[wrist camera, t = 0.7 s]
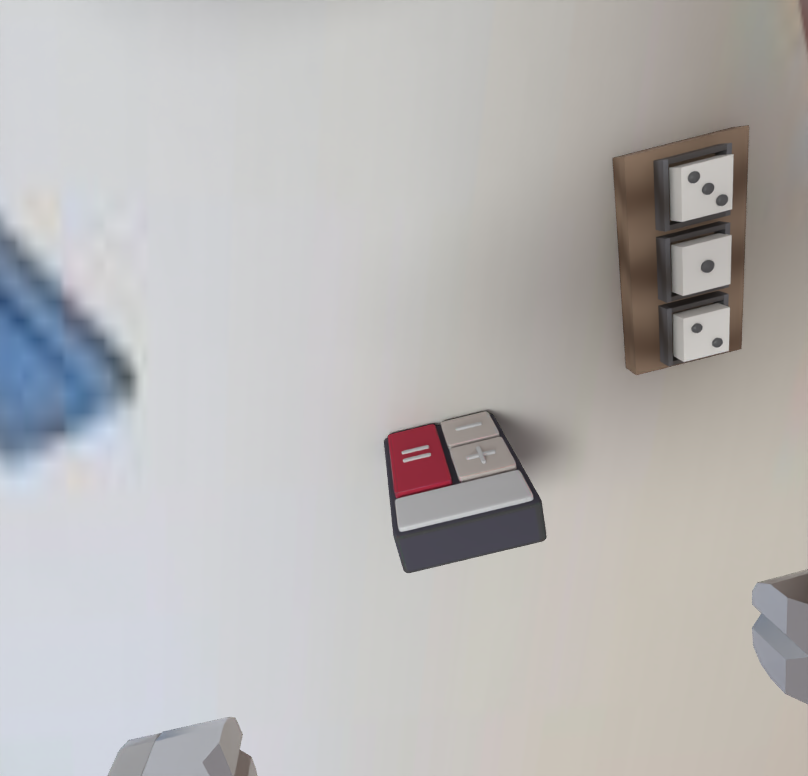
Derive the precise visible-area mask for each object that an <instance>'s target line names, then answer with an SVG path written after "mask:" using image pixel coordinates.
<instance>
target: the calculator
mask: <svg viewBox="0 0 808 776" xmlns="http://www.w3.org/2000/svg"><path fill="white" fill-rule="evenodd" d="M384 447H385V457H386V467H387V477H388V487H389V497H390V507H391V516H392V526H393V535H394V539H395V543H396V546H397V549H398V553H399V556H400V560H401V563H402V566H403V570H404V571H405V572H406V573H412V572H416V571H420V570H424V569H429V568H433V567H437V566H441V565H445V564H450V563H454V562H458V561H462V560H466V559H470V558H475V557H479V556H483V555H487V554H491V553H496V552H500V551H504V550H508V549H512V548H517V547H521V546H525V545H529V544H533V543H538V542H541V541H544V540H545V539H546V529H545V522H544V515H543V508H542V501H541V499H540V497H539V495H538V493H537V492H536V490H535V488H534V486H533V485H532V483H531V481H530V479H529V477H528V476H527V474H526V472H525V470H524V469H523V467H522V465H521V463H520V461H519V460H518V458H517V456H516V454H515V453H514V451H513V449H512V447H511V446H510V444H509V442H508V440H507V438H506V437H505V435H504V433H503V431H502V430H501V428H500V426H499V424H498V423H497V421H496V419H495V417H494V416H493V414H489V413H488V412H487V411H485V412H480V413H476V414H472V415H468V416H464V417H460V418H456V419H451V420H447V421H443V422H441V425H439V426H435V425H434V424H431V425H426V426H422V427H418V428H414V429H410V430H406V431H402V432H397V433H393V434H390V435H388V438H386V439H385V440H384Z"/></svg>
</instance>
